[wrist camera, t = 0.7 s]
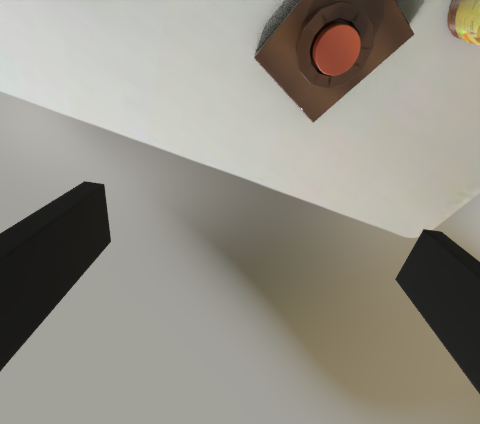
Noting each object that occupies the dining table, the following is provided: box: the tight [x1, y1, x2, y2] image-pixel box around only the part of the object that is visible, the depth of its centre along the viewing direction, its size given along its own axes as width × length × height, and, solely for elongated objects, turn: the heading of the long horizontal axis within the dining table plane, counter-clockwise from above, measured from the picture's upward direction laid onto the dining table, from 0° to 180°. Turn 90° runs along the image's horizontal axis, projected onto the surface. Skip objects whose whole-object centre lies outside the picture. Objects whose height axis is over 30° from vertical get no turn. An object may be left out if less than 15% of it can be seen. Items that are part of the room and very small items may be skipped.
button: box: [313, 23, 361, 76], centre depth 24 cm, size 4×4×2 cm
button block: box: [254, 0, 414, 122], centre depth 26 cm, size 12×10×4 cm
